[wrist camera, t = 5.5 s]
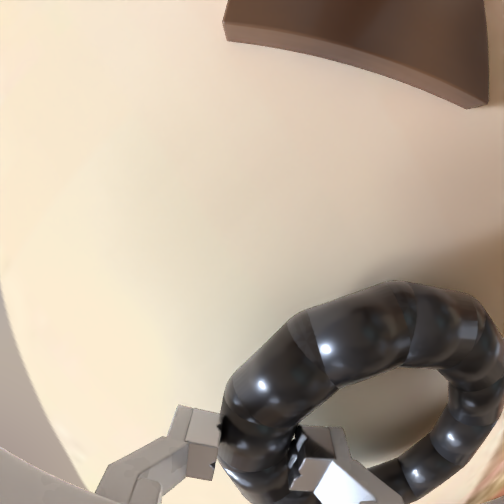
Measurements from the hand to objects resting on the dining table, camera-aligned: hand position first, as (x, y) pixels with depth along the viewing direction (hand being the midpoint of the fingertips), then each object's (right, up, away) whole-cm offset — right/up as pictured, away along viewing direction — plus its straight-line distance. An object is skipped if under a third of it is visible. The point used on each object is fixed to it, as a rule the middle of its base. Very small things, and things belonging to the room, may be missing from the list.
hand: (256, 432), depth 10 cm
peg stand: (+4, +16, -1) cm, 17 cm away
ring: (+4, -1, 0) cm, 5 cm away
